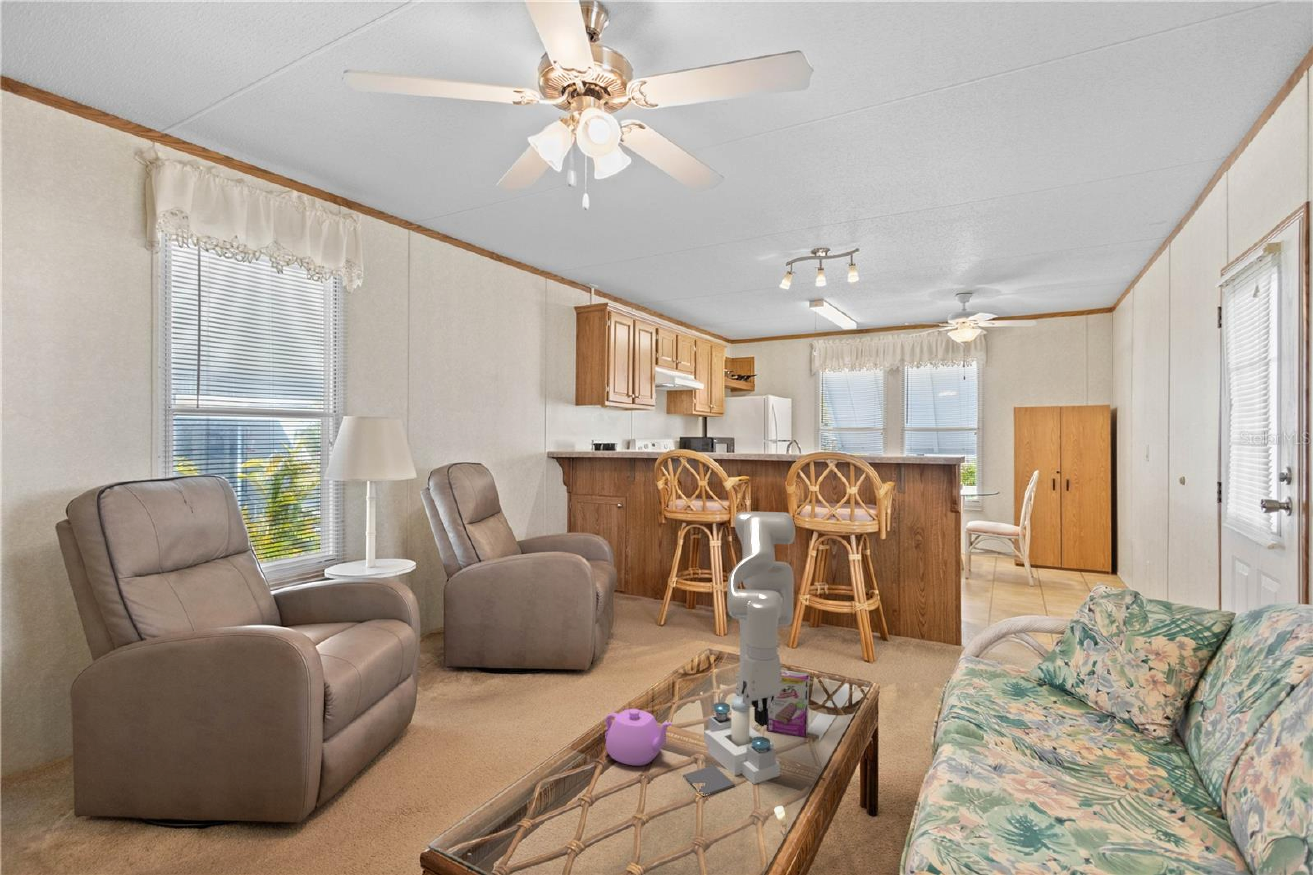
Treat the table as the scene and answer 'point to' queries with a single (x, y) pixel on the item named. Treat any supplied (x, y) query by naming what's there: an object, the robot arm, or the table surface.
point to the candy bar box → (790, 705)
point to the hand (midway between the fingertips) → (761, 723)
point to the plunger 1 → (721, 711)
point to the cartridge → (740, 722)
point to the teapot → (634, 737)
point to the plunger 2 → (761, 744)
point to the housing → (740, 753)
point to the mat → (710, 780)
